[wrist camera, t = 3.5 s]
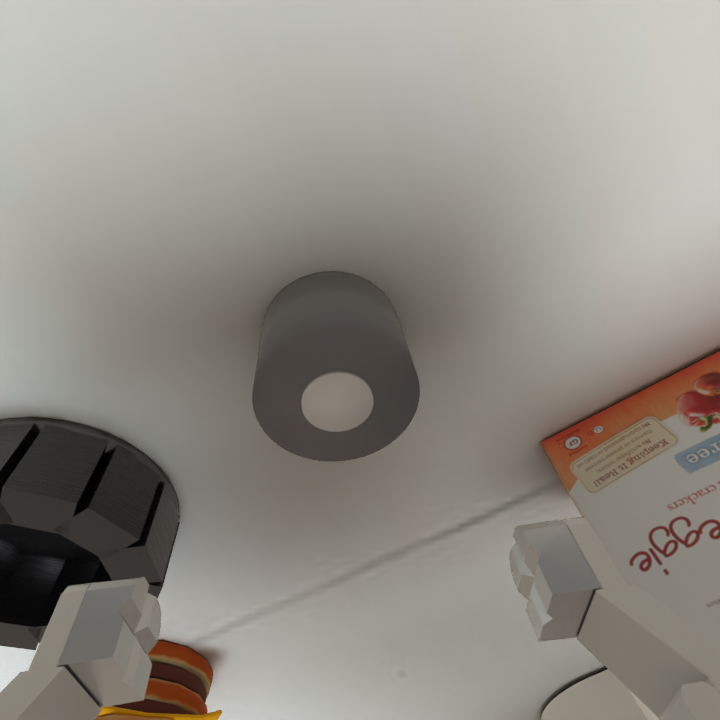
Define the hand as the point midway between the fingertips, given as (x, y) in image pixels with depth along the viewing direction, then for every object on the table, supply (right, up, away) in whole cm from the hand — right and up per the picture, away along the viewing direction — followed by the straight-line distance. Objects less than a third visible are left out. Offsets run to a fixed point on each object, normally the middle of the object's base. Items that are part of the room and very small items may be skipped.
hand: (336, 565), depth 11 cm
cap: (-1, +6, +9) cm, 11 cm away
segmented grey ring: (-14, -2, +13) cm, 19 cm away
